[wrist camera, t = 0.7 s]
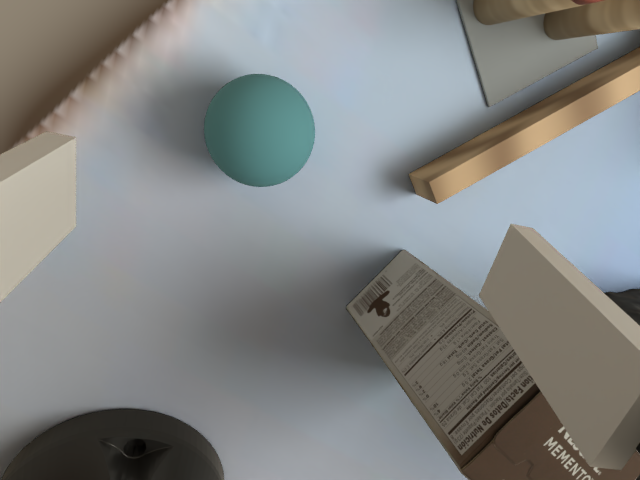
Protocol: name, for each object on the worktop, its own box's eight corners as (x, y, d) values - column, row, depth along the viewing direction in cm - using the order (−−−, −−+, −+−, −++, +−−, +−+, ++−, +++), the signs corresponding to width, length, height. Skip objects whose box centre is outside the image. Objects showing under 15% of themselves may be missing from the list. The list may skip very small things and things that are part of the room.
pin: (546, 46, 32) (671, 31, 23) (537, 10, 31) (665, -19, 22) (574, 30, 32) (709, 10, 24) (567, -5, 31) (705, -40, 23)
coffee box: (470, 318, 37) (657, 469, 22) (413, 374, 37) (560, 561, 22) (402, 244, 33) (570, 367, 19) (339, 307, 34) (456, 477, 19)
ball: (233, 193, 29) (243, 217, 24) (183, 104, 27) (181, 107, 21) (317, 149, 30) (346, 162, 24) (274, 57, 27) (295, 49, 22)
